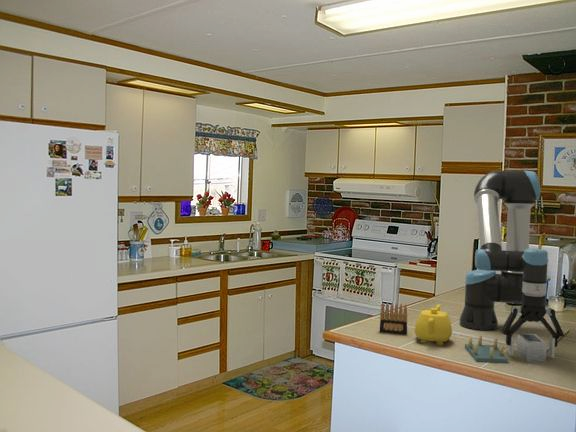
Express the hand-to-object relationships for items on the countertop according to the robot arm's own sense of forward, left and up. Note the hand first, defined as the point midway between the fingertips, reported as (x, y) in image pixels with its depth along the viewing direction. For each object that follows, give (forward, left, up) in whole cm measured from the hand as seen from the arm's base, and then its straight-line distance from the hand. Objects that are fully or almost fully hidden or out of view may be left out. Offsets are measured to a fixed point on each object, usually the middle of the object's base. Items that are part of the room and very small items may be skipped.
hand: (530, 355), depth 185 cm
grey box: (0, 0, -1) cm, 1 cm away
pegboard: (-1, -15, -1) cm, 15 cm away
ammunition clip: (-24, -44, -1) cm, 50 cm away
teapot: (-16, -30, -1) cm, 34 cm away
